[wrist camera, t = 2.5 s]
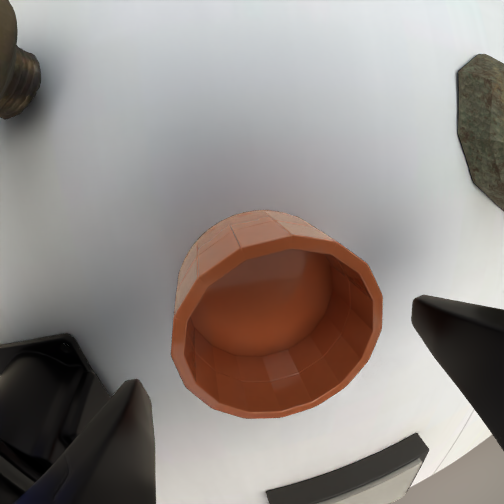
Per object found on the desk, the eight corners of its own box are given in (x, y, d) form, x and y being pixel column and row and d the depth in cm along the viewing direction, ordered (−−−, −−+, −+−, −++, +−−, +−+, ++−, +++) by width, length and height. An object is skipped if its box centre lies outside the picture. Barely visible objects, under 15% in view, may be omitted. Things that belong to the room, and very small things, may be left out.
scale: (282, 523, 22) (288, 543, 19) (265, 491, 18) (273, 519, 16) (397, 479, 24) (408, 497, 21) (417, 432, 20) (433, 453, 17)
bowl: (203, 370, 13) (209, 434, 10) (156, 234, 11) (137, 273, 7) (339, 332, 14) (378, 382, 10) (325, 193, 12) (380, 212, 8)
